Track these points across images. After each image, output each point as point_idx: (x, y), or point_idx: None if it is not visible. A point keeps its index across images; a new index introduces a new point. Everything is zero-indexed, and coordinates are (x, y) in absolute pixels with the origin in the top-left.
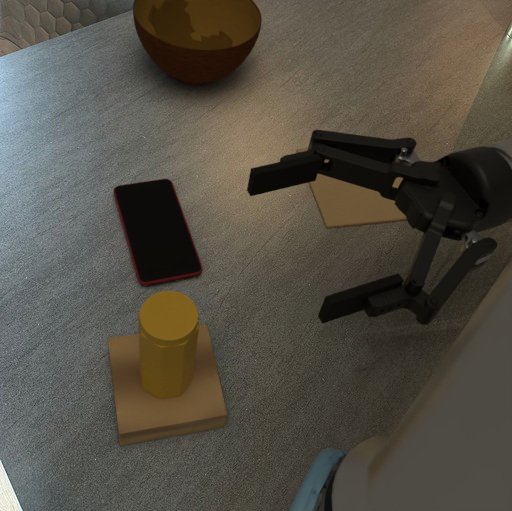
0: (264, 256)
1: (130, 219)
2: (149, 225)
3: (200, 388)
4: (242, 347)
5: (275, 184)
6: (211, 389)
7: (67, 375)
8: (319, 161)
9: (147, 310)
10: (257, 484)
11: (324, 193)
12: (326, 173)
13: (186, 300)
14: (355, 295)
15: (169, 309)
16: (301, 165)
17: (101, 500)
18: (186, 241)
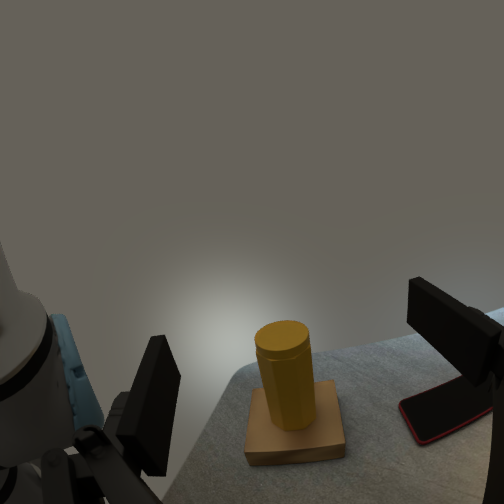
0: (453, 498)
1: (461, 381)
2: (460, 394)
3: (275, 436)
4: (331, 488)
5: (430, 329)
6: (272, 444)
7: (316, 377)
8: (486, 338)
9: (288, 323)
10: (193, 476)
11: None
12: (494, 392)
13: (295, 343)
14: (142, 361)
15: (287, 334)
16: (461, 319)
17: (225, 395)
18: (452, 423)
